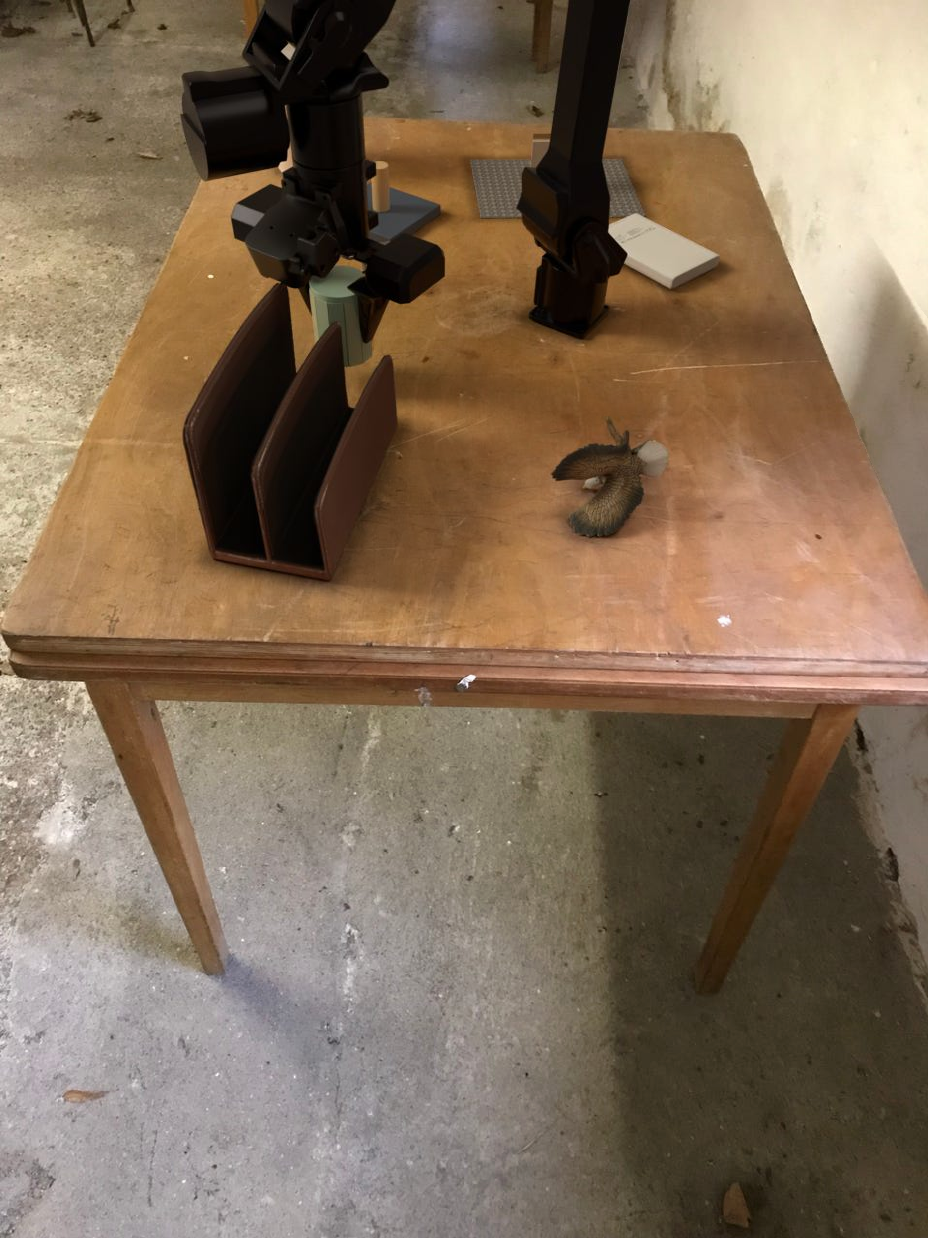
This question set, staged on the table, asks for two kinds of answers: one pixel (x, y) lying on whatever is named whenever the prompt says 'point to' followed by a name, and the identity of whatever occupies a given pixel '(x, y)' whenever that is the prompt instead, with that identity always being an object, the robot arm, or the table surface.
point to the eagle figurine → (610, 480)
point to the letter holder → (285, 445)
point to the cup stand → (396, 208)
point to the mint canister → (339, 312)
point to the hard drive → (661, 251)
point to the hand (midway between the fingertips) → (343, 330)
